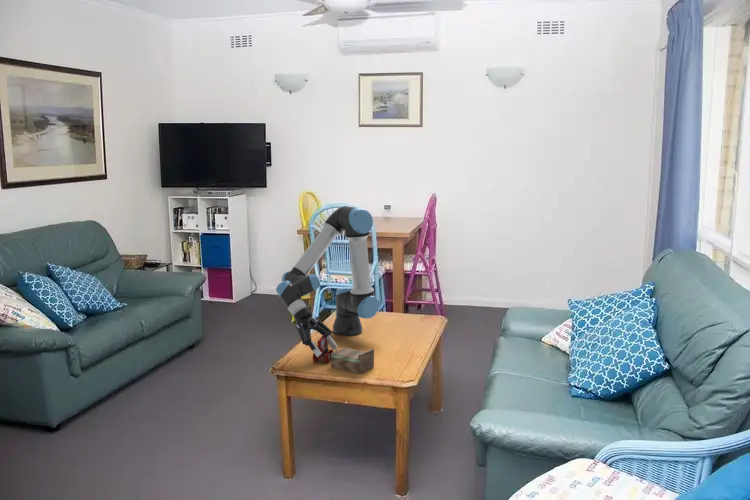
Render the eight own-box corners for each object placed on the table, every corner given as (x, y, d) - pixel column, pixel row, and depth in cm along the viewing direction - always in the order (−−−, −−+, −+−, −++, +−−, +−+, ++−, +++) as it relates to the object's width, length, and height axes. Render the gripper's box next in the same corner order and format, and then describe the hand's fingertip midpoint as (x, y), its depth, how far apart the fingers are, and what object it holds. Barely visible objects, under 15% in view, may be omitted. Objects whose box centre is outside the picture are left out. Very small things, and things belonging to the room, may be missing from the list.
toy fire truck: (334, 356, 277) (334, 333, 275) (327, 365, 265) (327, 341, 263) (319, 355, 278) (319, 332, 277) (311, 363, 266) (311, 340, 265)
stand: (330, 367, 263) (330, 348, 261) (345, 360, 271) (345, 343, 270) (359, 374, 254) (360, 355, 253) (374, 367, 263) (374, 349, 262)
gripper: (312, 311, 287) (338, 350, 280) (277, 321, 268) (305, 363, 261) (321, 302, 283) (348, 340, 277) (287, 311, 264) (315, 353, 258)
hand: (327, 352), depth 269 cm, fingers closed on toy fire truck, 11 cm apart
